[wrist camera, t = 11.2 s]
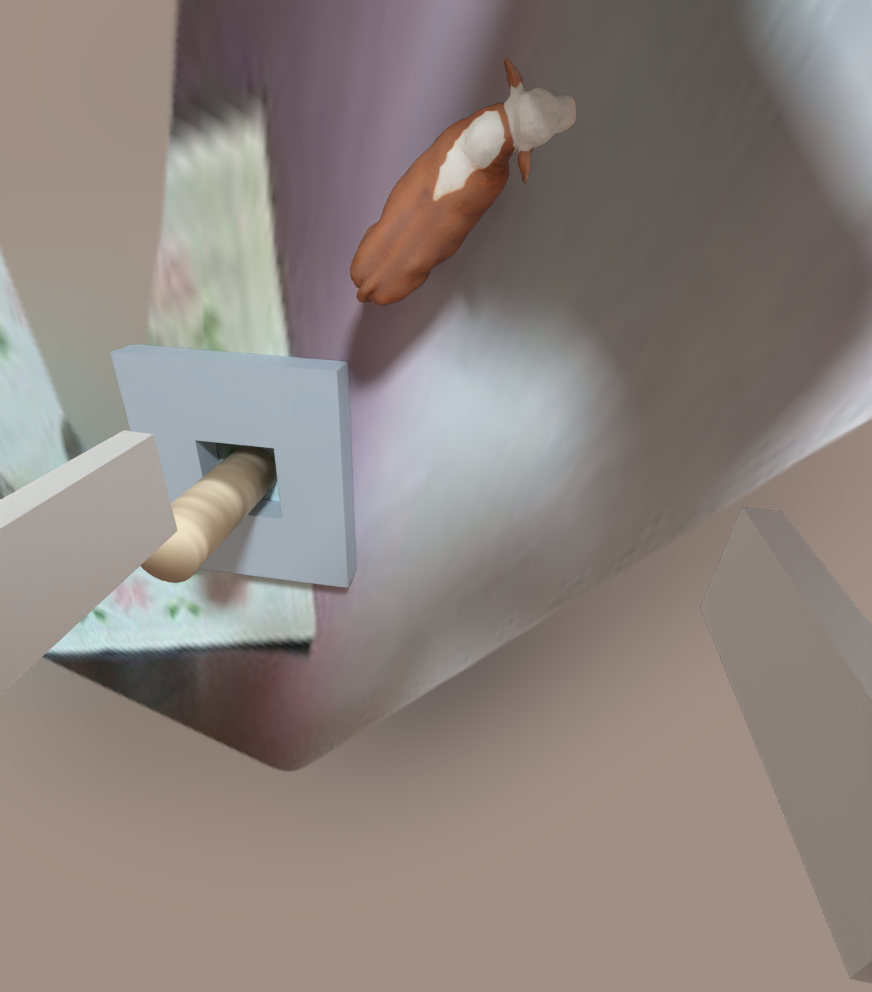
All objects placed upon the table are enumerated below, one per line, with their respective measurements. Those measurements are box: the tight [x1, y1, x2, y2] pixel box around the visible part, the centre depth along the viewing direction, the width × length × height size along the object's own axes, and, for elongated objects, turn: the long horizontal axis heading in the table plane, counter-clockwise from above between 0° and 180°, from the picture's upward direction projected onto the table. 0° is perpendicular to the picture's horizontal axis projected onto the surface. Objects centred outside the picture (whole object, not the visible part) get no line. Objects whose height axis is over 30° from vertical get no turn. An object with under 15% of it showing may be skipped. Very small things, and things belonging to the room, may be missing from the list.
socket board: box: [110, 344, 356, 588], centre depth 40 cm, size 18×16×2 cm
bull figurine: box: [350, 58, 576, 305], centre depth 26 cm, size 4×13×8 cm, turn 131°
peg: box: [140, 446, 277, 583], centre depth 36 cm, size 4×4×12 cm
